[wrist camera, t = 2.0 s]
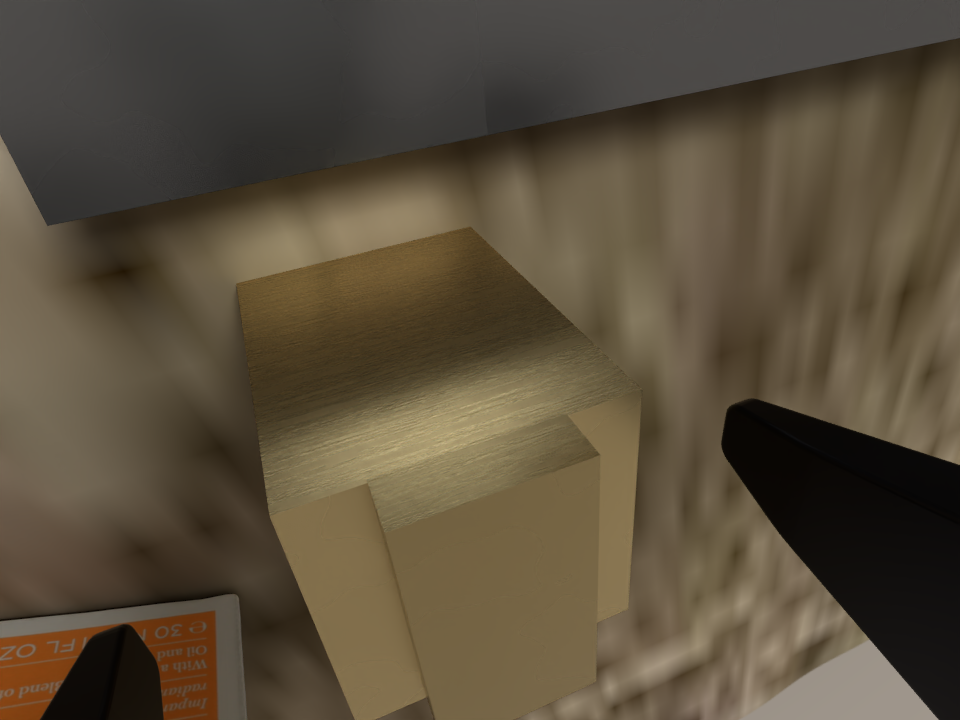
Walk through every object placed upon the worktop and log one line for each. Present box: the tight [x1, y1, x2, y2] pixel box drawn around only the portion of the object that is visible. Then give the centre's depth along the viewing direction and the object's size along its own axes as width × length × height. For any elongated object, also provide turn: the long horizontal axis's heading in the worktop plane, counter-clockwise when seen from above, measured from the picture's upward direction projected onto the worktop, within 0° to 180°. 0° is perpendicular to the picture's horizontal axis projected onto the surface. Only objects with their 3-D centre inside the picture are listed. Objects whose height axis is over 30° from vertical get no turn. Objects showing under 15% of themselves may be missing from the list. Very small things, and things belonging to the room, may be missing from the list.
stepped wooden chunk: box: [237, 227, 642, 720], centre depth 10 cm, size 4×5×7 cm
